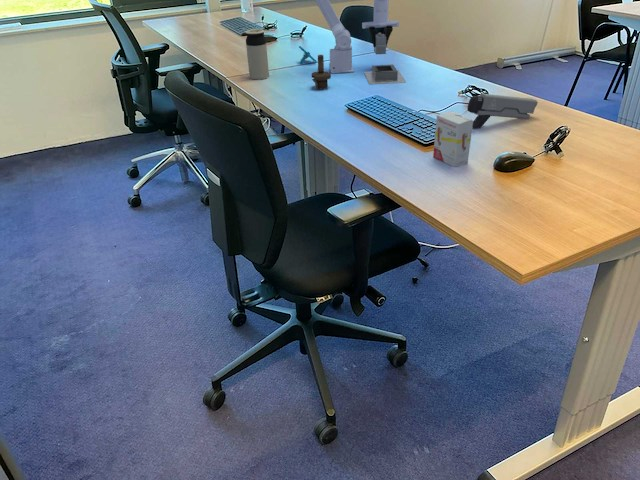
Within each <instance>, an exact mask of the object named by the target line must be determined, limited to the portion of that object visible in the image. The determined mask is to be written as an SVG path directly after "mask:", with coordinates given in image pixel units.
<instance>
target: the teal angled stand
mask: <svg viewBox="0 0 640 480" xmlns="http://www.w3.org/2000/svg"><path fill="white" fill-rule="evenodd" d="M298 48H299V49H300V50H301V51H302V52H303V55H302V58H301V59H300V61H299V63H300V64H301V63H302V64H303V63H304V62H305V60H307V59H308V58H310V59H311V60H312V61H313V62H314V63H318V60H316V59H315V58H314V57H313V56H312V55H311V52H310V51H306V49H304V48H303V47H302V46H301V45H299V46H298Z"/></svg>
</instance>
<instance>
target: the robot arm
mask: <svg viewBox="0 0 640 480" xmlns="http://www.w3.org/2000/svg"><path fill="white" fill-rule="evenodd" d="M314 1H315V2H316V5H317V7H318V8H319V10H320V12H321V14H322V15H323V17H324V19H325V21H326V22H327V24H328V26H329V28H330V30H331V32H332V36H333V37H334V40H335V45H334V47H333V48H329V62H328V63H329V64H328V67H329V70H330V73H331V74H338V73H340V74H341V73H343V74H344V73H354V72H355V70H354V68H353V46H352V45H351V44H352V38H351V33H350V31H349V30H347V29H346V28H345V26H344V25H343V23H342V22H341V20H340V18H339V16H338V15H337V13H336V11H335V9H334V7H333V5H332V3H331V2H330V0H314ZM361 27H362V28H361V29H368V31H369V33H370V37H371V39H372V46H373V48H374V47H376V41H375V38H376V34H377V29H376V28H384V35H385V36H386V45H387V46H388V43H389V39H390V36H391V34H392V32H393V31H394V30H393V29H394V28H399V27H400V21H399V20H395V21H394V20H389V0H373V21H365V22H362V23H361Z"/></svg>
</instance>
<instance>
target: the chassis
mask: <svg viewBox="0 0 640 480" xmlns="http://www.w3.org/2000/svg"><path fill="white" fill-rule="evenodd" d="M363 74H364V76H365V79H366V80H367V83H368V84H369V85H377V84H378V85H379V84H380V85H381V84H383V85H384V84H398V83H401V84H402V83H403V84H404V83H406V79H405V78H404V76H403V75H402V73H401V72H400V70H399V69H397V68H396V67H395V65H394V64H379V65H378V64H377V65H376V64H375V65H371V71H364V72H363Z"/></svg>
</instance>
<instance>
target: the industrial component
mask: <svg viewBox="0 0 640 480" xmlns="http://www.w3.org/2000/svg"><path fill="white" fill-rule="evenodd" d="M324 60H325V59H324V54H318V55H317V71H313V72H312V73H311V78H312V79H311V81H313V83H314V87H315V90H326V89H327V88H329V87H328V80H330V79H332V78H331V77H332V76H331V74H332V73H331V71H330V72H329V71H325V65H324V63H325V62H324Z"/></svg>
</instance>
